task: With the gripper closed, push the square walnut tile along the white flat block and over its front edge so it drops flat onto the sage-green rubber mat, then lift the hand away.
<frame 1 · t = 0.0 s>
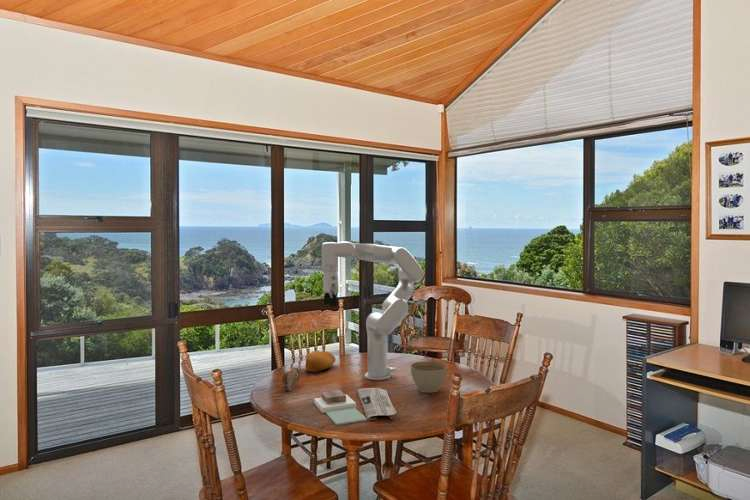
hand: (330, 305, 233), 37 cm above the table, tool pointing down, fingers open, 9 cm apart
tin: (290, 388, 227), on the table
mat: (345, 416, 190), on the table
bread: (321, 369, 259), on the table
walnut tile: (333, 399, 204), point 2 cm above the table, touching white flat block
newspaper: (377, 407, 203), on the table
planter bowl: (428, 390, 223), on the table
white flat block: (334, 405, 202), on the table
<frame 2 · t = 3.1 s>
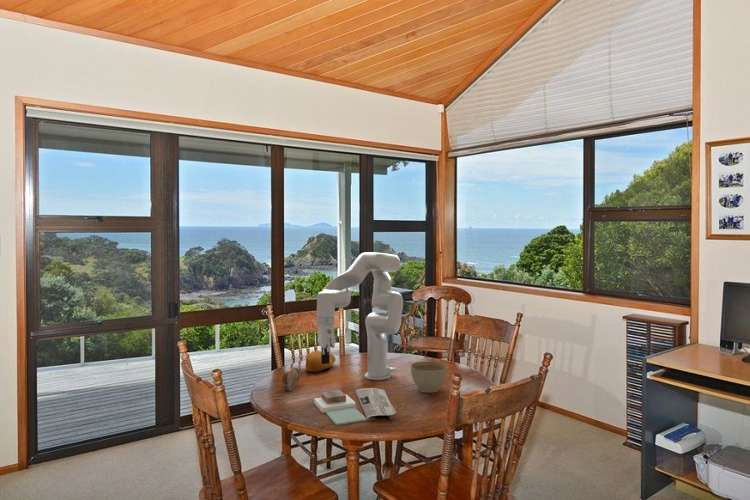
hand: (325, 363, 212), 15 cm above the table, tool pointing down, fingers closed
nothing on the table moved.
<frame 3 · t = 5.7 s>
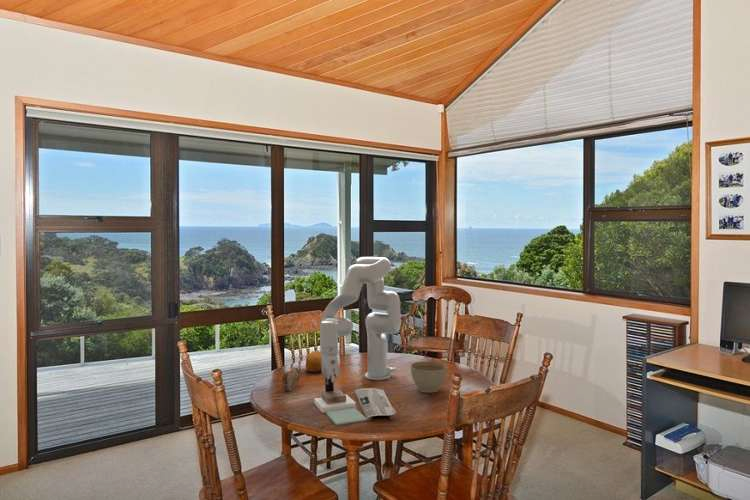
hand: (329, 393, 209), 3 cm above the table, tool pointing down, fingers closed
walnut tile: (333, 399, 204), point 2 cm above the table, touching white flat block, gripper
everything else where it was.
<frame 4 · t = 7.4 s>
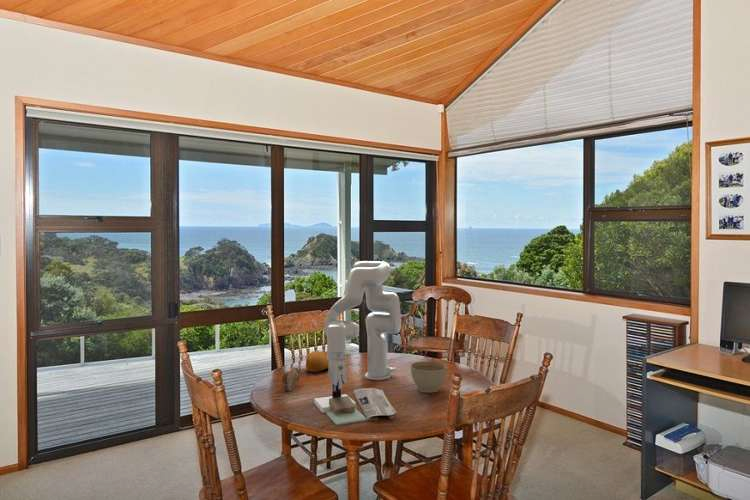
hand: (336, 400, 200), 3 cm above the table, tool pointing down, fingers closed
walnut tile: (341, 408, 195), point 2 cm above the table, tilted 13°, touching white flat block, gripper
everything else where it was.
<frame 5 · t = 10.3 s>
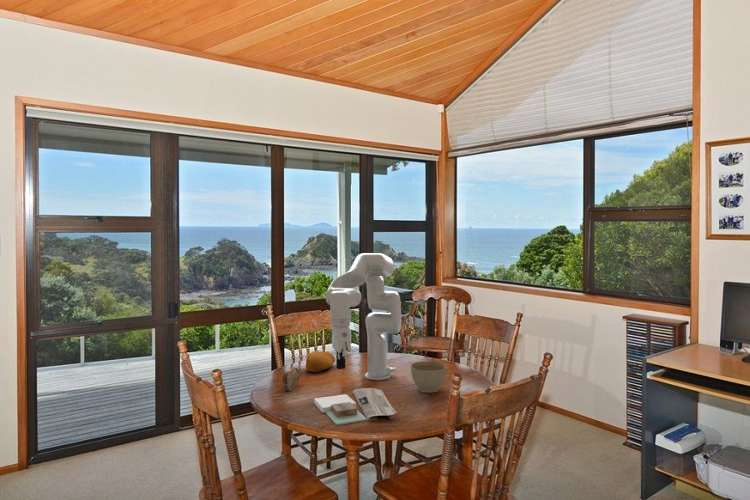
hand: (340, 368, 195), 17 cm above the table, tool pointing down, fingers closed
walnut tile: (343, 412, 193), point 1 cm above the table, touching mat
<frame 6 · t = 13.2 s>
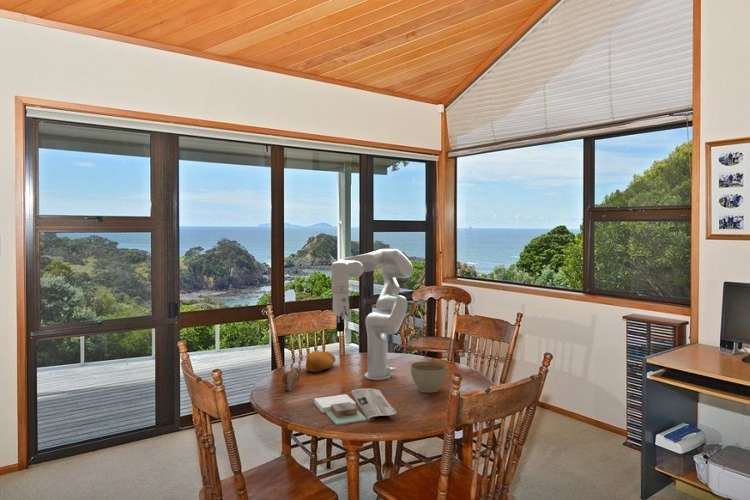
hand: (340, 331, 219), 27 cm above the table, tool pointing down, fingers closed
at the end: walnut tile inside the target area (2.6 cm from its centre), point 0.6 cm above the table; walnut tile touching mat; walnut tile tilted 0° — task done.
